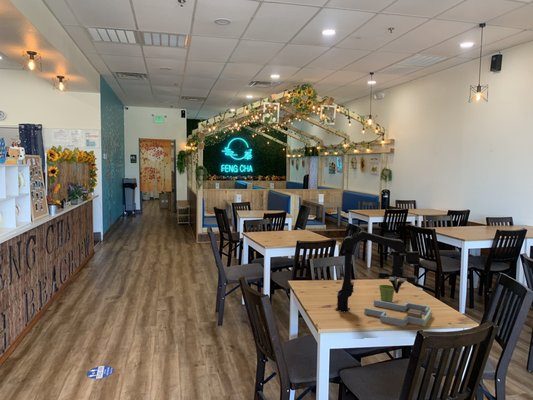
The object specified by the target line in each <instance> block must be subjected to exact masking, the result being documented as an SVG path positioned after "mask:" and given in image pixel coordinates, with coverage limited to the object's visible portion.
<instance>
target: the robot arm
mask: <svg viewBox="0 0 533 400" xmlns="http://www.w3.org/2000/svg"><path fill="white" fill-rule="evenodd" d="M363 240H365V241H369V242H372V243H376V244H380V245H382V246H386V247H387V248H389V249H391V250H390V252H388V255H389V256H391V257H392V258H391V261H392V263H391V273H389V272H388V271H384V270H381V271H380V272H379V273H378V275H377V279H383V280H385V278H389V279H388V281H389V282H390V283H391V286H393V287H394V290H395V291H394V293H395V294H399V292H400V289H401V286H402V285H403V284H404V283H406V282H407V283H409V284H416V283H417V282H418V277H417V275H413V274H409V275H407V276H406V272H407V271H406V268H405V265H404V264H405V263H407V265H409V266H411V265H412V266H419V265H420V252H419V251H408V250H407V248H405V246H406V245H405V243H404V241H403V240H402V239H399V238H389V237H384V236H382V235H378V234H375V233H371V232H368V231H366V230H361V231H360V232H357V233H355V234H353V235H348V236H345V237H344V239H343V243H342V245H343V251H344V264H343V265H344V268H343V269H344V270H343V280H342V281H343V282H342V285H341V289H340V290H338V291H337V295H336V298H337V301H336V302H337V303H336V307H335V308H334V310H335V309H336V310H335V311H338V310H341V311H340V312H343V311H345V312H344V313H346V311H347V312H349V310H351V307H349V298H351V296H352V295H353V293H354V290H355V289H354V286H355V285H354V284H355V282H354V281H352V279H351V278H352V259H353V258H352V257H353V251H354V247H355V245H356V244H358V243H359V242H361V241H363Z"/></svg>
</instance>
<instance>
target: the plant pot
mask: <svg viewBox="0 0 533 400" xmlns="http://www.w3.org/2000/svg"><path fill="white" fill-rule="evenodd" d="M378 289H379V293H380V301H383V302H389V303H393V300H394V295H395V294H394V293H395V290H394V287H393V285H392V284H391V285H390V284H380V285H378Z"/></svg>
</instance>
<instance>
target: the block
mask: <svg viewBox="0 0 533 400" xmlns="http://www.w3.org/2000/svg"><path fill="white" fill-rule="evenodd" d="M406 312H407V313H406V316H409V317H414V318H419V319H423V314H422V311H419V310H413V309H410V310H409V311H406Z"/></svg>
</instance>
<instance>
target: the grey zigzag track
mask: <svg viewBox="0 0 533 400" xmlns="http://www.w3.org/2000/svg"><path fill="white" fill-rule="evenodd" d="M373 306H375V307H379V308H383V309H384V308H385V309H389V310H394V311H399V312H400V311H401V312H408V311H409V310H410V309H413V310H419V311H422V315H424V317H423V318H422V319H419V318H414V317H409V316H407V315H406V316H405V317H404V318H403V319H402V318H397V317H393V316H387V311H383V310H379V309H373V308H369V307H364V313H363V314H364V315H367V314H368V315H367V316H373V317H379V322H380V321H381V323H385V324H391V325H396V326H400V327H406V326H407V324H412V325H417V326H421V327H425V326H426V325H427V324H428V322H429V321H430V319H431V318H432V310H431V309H430V307H431V306H429V305H423V304H419V303H412V302H405V303H404V304H398V303H393V302H391V303H390V302H383V301H381V300H377V299H374V300H373Z"/></svg>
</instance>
